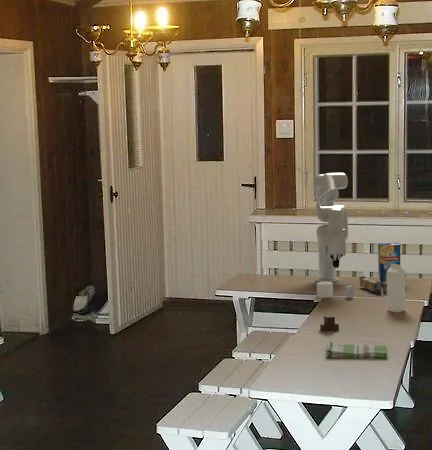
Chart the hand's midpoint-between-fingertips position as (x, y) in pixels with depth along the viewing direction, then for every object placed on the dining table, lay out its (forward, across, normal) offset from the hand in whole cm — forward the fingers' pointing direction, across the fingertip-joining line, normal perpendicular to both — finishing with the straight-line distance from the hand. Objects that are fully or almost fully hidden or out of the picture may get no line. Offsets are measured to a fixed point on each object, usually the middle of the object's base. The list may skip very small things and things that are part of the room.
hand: (336, 267), depth 435 cm
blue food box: (+15, -38, -13) cm, 43 cm away
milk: (+13, -9, +47) cm, 50 cm away
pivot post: (+14, -20, +9) cm, 26 cm away
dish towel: (+12, +41, +106) cm, 114 cm away
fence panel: (+14, -27, +9) cm, 32 cm away
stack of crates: (+13, +35, +71) cm, 80 cm away
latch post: (+14, -2, +12) cm, 18 cm away
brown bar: (+14, -20, -1) cm, 24 cm away
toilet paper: (+14, +6, +1) cm, 16 cm away
